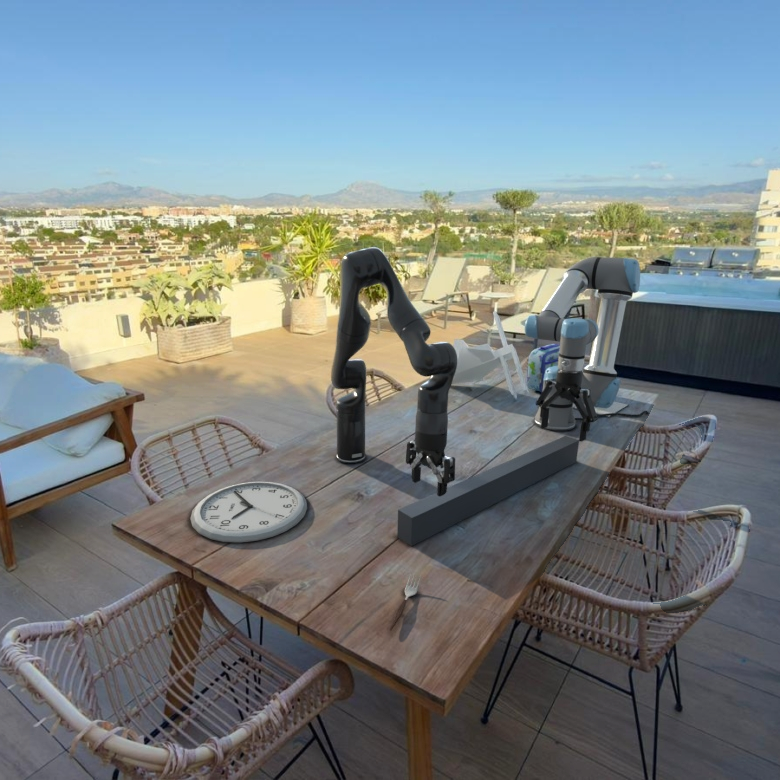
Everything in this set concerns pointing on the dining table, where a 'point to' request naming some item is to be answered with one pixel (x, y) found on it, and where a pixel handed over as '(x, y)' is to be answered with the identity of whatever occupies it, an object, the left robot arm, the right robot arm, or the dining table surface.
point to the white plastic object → (486, 361)
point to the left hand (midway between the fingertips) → (428, 488)
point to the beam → (483, 490)
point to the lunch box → (541, 365)
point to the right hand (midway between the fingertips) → (562, 433)
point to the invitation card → (610, 408)
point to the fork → (409, 592)
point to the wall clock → (248, 512)
